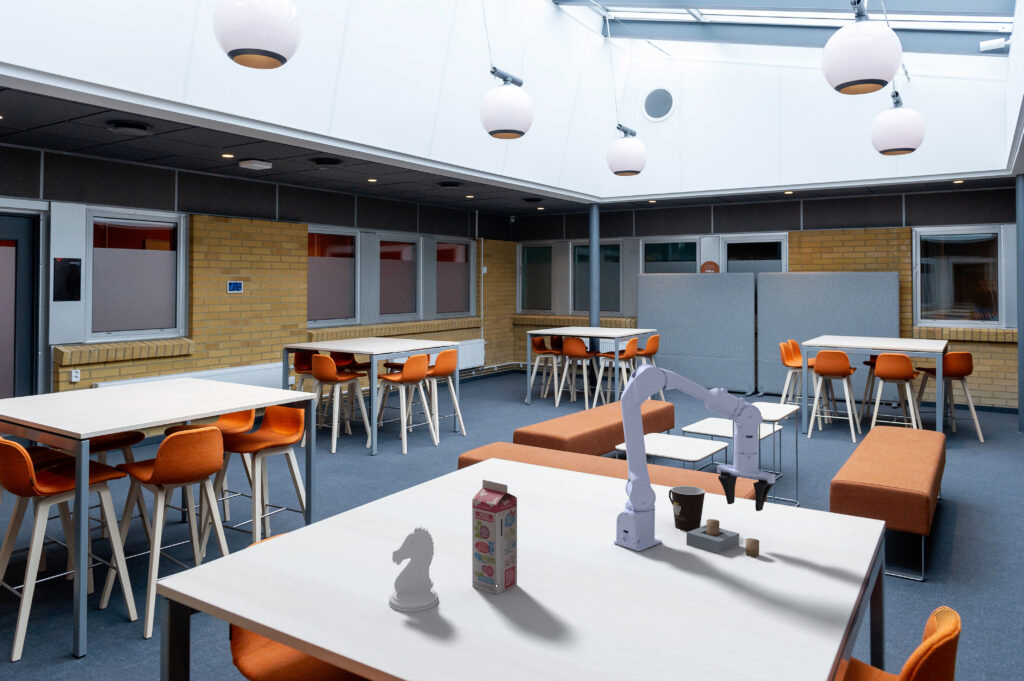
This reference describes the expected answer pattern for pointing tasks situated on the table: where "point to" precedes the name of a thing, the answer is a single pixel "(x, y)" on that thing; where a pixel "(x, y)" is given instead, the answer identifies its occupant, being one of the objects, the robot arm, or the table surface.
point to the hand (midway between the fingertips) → (744, 506)
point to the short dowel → (752, 547)
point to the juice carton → (494, 538)
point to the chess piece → (414, 574)
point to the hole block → (712, 540)
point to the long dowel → (712, 527)
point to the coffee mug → (687, 506)
